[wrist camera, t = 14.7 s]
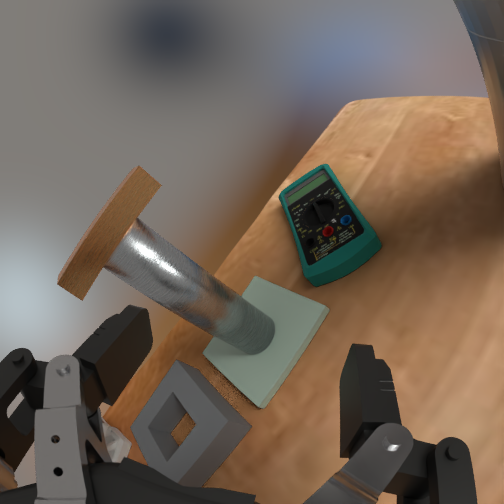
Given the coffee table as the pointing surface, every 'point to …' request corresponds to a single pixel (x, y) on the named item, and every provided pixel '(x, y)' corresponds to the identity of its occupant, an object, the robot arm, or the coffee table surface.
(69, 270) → the t key
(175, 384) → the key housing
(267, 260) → the coffee table surface
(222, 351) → the pad
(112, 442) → the security camera
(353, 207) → the digital multimeter
